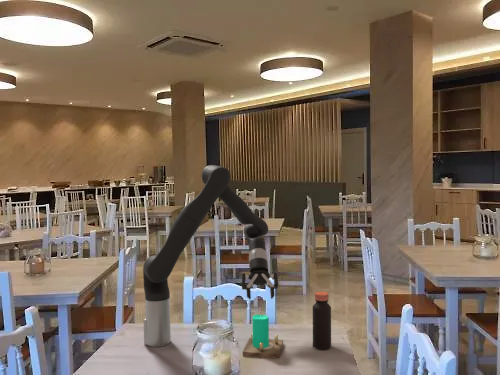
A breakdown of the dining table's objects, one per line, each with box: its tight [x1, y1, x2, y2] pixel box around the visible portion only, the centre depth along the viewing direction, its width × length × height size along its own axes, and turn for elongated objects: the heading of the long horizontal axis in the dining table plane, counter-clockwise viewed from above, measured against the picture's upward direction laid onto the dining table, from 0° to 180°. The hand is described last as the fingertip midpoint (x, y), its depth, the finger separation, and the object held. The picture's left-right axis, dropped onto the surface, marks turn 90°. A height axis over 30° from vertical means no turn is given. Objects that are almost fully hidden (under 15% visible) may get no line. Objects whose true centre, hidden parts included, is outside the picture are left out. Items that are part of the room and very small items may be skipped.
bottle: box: [312, 291, 332, 351], centre depth 166 cm, size 7×7×20 cm
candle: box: [251, 312, 270, 348], centre depth 164 cm, size 6×6×12 cm
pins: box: [250, 333, 279, 352], centre depth 163 cm, size 10×9×3 cm
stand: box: [242, 337, 284, 359], centre depth 165 cm, size 13×13×2 cm
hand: (260, 297), depth 172 cm, fingers open, 8 cm apart
